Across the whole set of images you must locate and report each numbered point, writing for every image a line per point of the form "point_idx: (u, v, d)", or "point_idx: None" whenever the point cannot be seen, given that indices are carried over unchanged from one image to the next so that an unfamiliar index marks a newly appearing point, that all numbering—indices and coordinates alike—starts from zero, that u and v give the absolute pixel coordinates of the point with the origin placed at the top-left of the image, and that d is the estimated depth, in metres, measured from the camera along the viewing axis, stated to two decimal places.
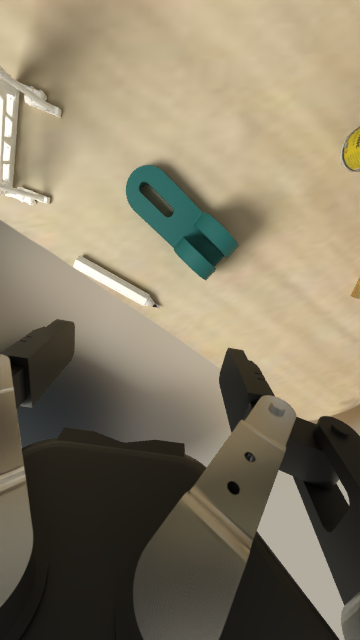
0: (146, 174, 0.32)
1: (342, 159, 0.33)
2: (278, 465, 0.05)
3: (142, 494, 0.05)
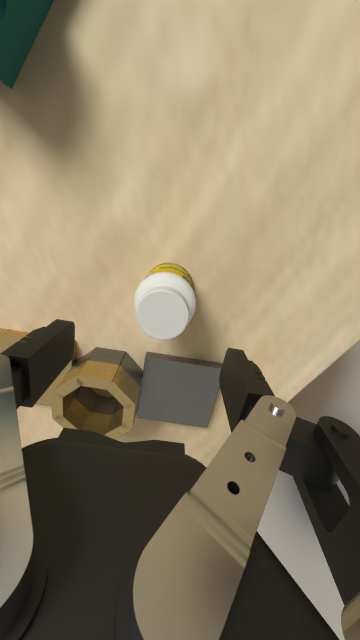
0: None
1: None
2: (278, 465, 0.05)
3: (142, 494, 0.05)
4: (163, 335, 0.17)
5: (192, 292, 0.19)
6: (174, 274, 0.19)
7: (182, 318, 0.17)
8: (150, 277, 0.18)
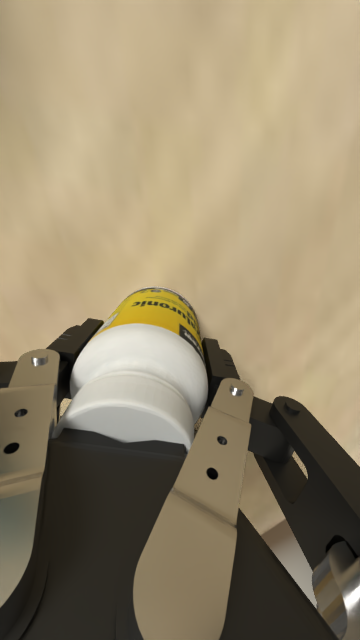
0: None
1: (134, 292, 0.14)
2: (247, 442, 0.05)
3: (142, 494, 0.05)
4: None
5: (201, 370, 0.08)
6: (159, 330, 0.08)
7: None
8: (103, 339, 0.08)
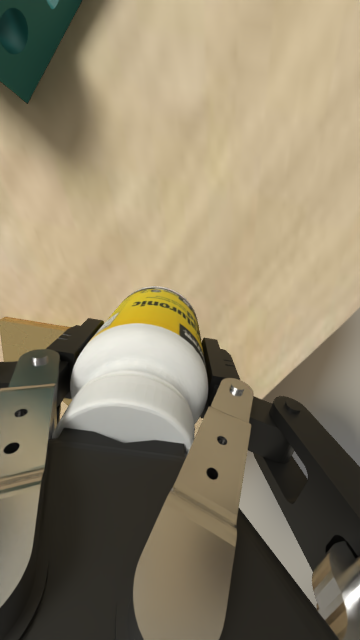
0: None
1: (134, 292, 0.14)
2: (247, 442, 0.05)
3: (142, 494, 0.05)
4: None
5: (201, 370, 0.08)
6: (160, 330, 0.08)
7: None
8: (103, 339, 0.08)
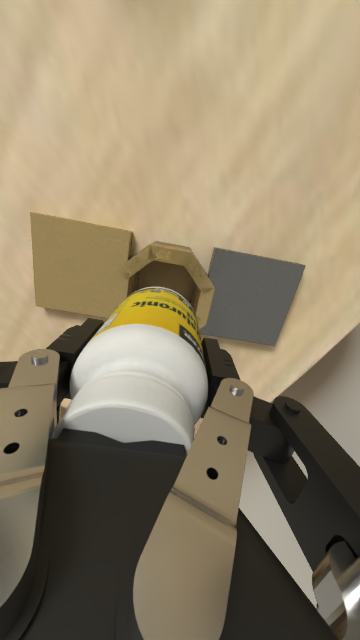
0: None
1: (134, 292, 0.14)
2: (247, 442, 0.05)
3: (142, 494, 0.05)
4: None
5: (201, 371, 0.08)
6: (159, 330, 0.08)
7: None
8: (102, 339, 0.08)
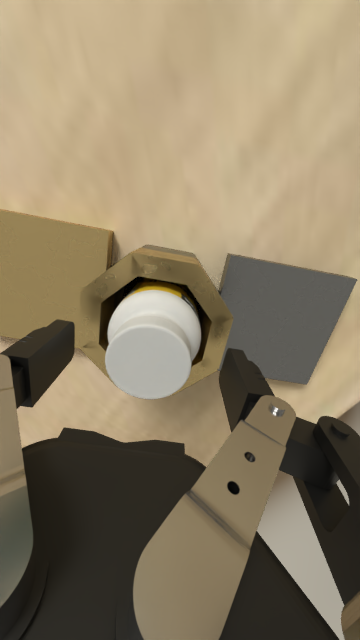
0: None
1: None
2: (278, 465, 0.05)
3: (142, 494, 0.05)
4: (150, 393, 0.11)
5: (196, 321, 0.12)
6: (168, 294, 0.12)
7: (181, 368, 0.10)
8: (131, 299, 0.12)
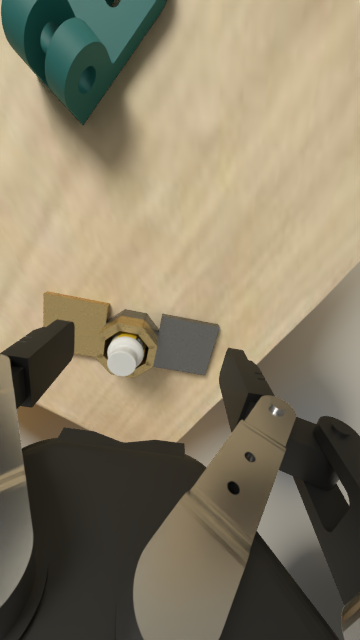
0: None
1: None
2: (278, 465, 0.05)
3: (142, 494, 0.05)
4: (122, 374, 0.32)
5: (140, 348, 0.33)
6: (130, 338, 0.33)
7: (132, 365, 0.31)
8: (116, 340, 0.33)
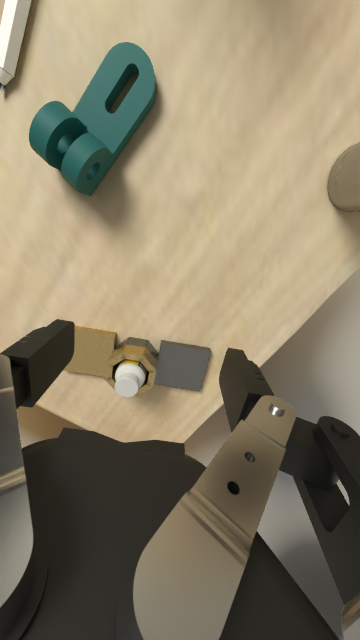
0: (146, 76, 0.29)
1: None
2: (278, 465, 0.05)
3: (142, 494, 0.05)
4: (127, 395, 0.38)
5: (142, 373, 0.40)
6: (133, 364, 0.40)
7: (135, 388, 0.38)
8: (122, 366, 0.39)
